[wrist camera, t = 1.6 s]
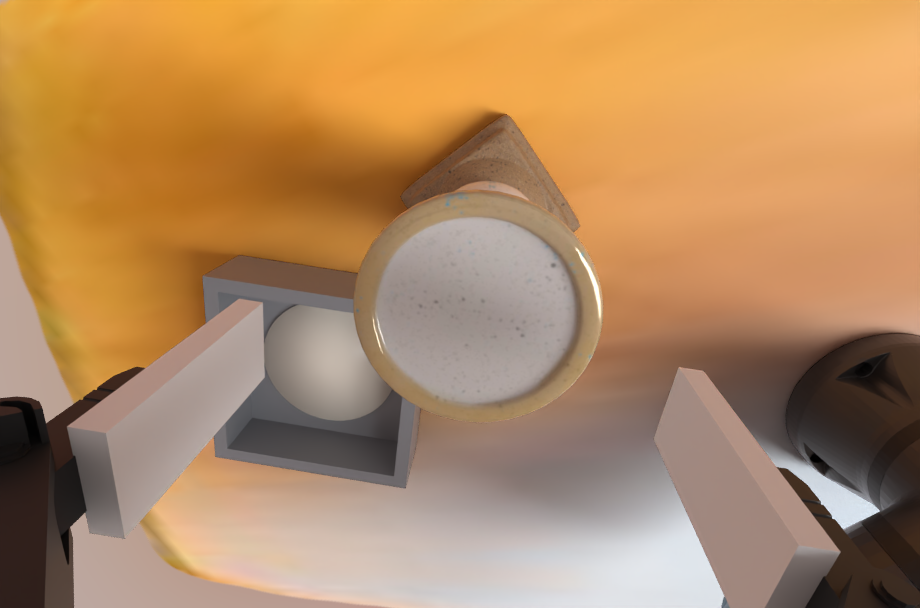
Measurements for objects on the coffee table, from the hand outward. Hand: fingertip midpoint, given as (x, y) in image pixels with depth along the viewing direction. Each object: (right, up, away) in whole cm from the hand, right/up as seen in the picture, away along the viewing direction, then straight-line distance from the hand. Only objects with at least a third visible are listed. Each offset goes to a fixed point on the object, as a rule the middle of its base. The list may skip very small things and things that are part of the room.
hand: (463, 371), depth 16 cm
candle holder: (+3, +10, +26) cm, 29 cm away
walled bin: (-13, -3, +33) cm, 36 cm away
